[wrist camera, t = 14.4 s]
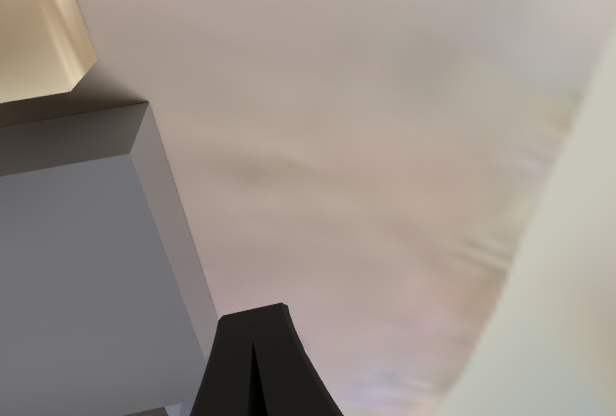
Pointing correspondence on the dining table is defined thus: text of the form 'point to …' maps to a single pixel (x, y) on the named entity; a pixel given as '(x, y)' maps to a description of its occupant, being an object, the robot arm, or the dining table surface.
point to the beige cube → (42, 48)
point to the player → (97, 270)
